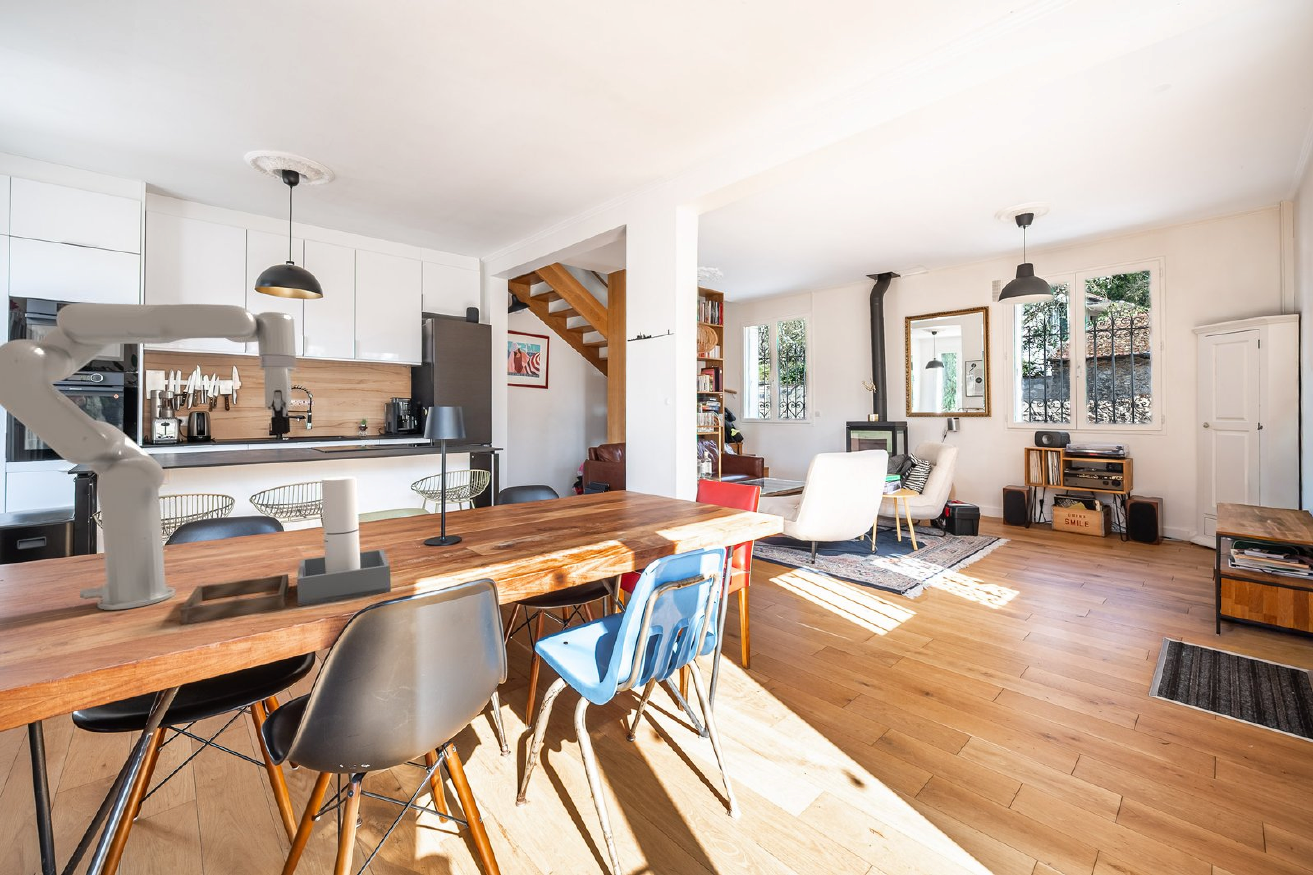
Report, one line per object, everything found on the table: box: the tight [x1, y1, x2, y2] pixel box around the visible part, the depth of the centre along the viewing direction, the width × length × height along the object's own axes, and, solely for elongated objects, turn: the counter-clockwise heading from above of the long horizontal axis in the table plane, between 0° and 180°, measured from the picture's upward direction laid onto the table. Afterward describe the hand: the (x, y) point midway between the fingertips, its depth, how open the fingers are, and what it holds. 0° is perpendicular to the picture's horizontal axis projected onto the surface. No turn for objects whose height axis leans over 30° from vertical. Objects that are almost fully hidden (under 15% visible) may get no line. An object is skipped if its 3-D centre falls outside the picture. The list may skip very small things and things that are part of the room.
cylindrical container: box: [321, 475, 361, 574], centre depth 131 cm, size 7×7×25 cm
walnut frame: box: [179, 573, 290, 625], centre depth 122 cm, size 17×17×3 cm
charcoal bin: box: [296, 548, 392, 607], centre depth 132 cm, size 18×18×6 cm
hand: (281, 433), depth 138 cm, fingers open, 9 cm apart
